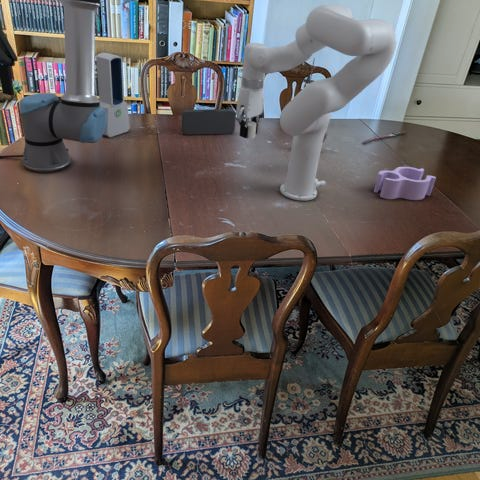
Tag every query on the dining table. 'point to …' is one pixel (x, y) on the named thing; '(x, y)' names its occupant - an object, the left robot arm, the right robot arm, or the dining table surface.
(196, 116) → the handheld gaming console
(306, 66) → the miniature windmill
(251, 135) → the grey solid cylinder
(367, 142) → the sword
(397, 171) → the clip
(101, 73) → the electronic device
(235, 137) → the dining table surface
